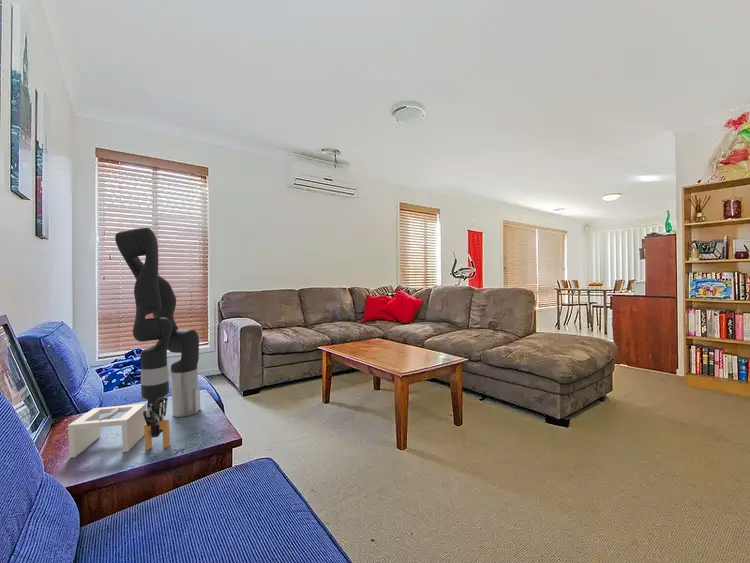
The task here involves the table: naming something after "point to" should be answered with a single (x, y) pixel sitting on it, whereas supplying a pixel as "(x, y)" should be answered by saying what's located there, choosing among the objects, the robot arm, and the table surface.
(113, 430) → the table surface
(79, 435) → the open-topped stand
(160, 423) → the orange u-shaped bracket
